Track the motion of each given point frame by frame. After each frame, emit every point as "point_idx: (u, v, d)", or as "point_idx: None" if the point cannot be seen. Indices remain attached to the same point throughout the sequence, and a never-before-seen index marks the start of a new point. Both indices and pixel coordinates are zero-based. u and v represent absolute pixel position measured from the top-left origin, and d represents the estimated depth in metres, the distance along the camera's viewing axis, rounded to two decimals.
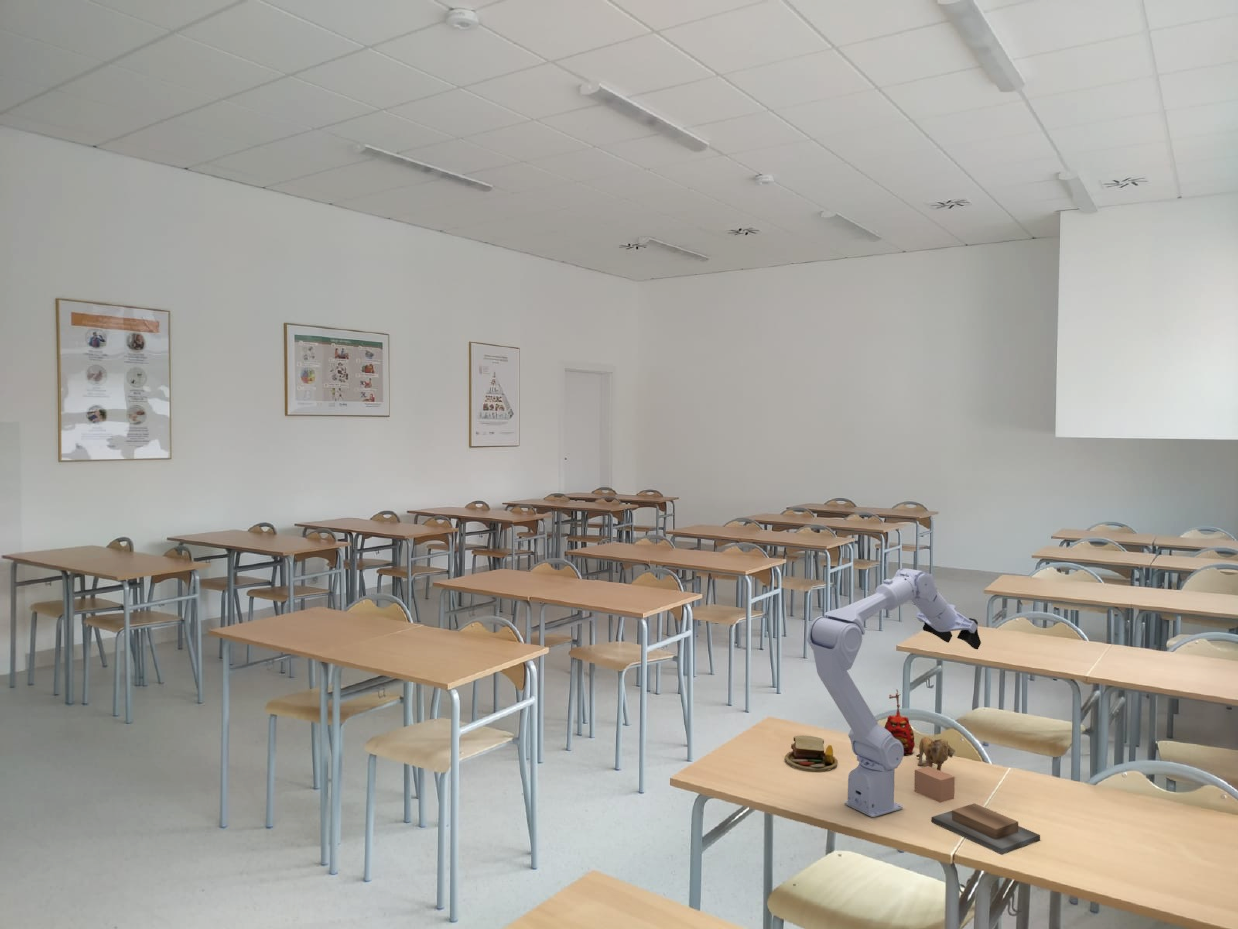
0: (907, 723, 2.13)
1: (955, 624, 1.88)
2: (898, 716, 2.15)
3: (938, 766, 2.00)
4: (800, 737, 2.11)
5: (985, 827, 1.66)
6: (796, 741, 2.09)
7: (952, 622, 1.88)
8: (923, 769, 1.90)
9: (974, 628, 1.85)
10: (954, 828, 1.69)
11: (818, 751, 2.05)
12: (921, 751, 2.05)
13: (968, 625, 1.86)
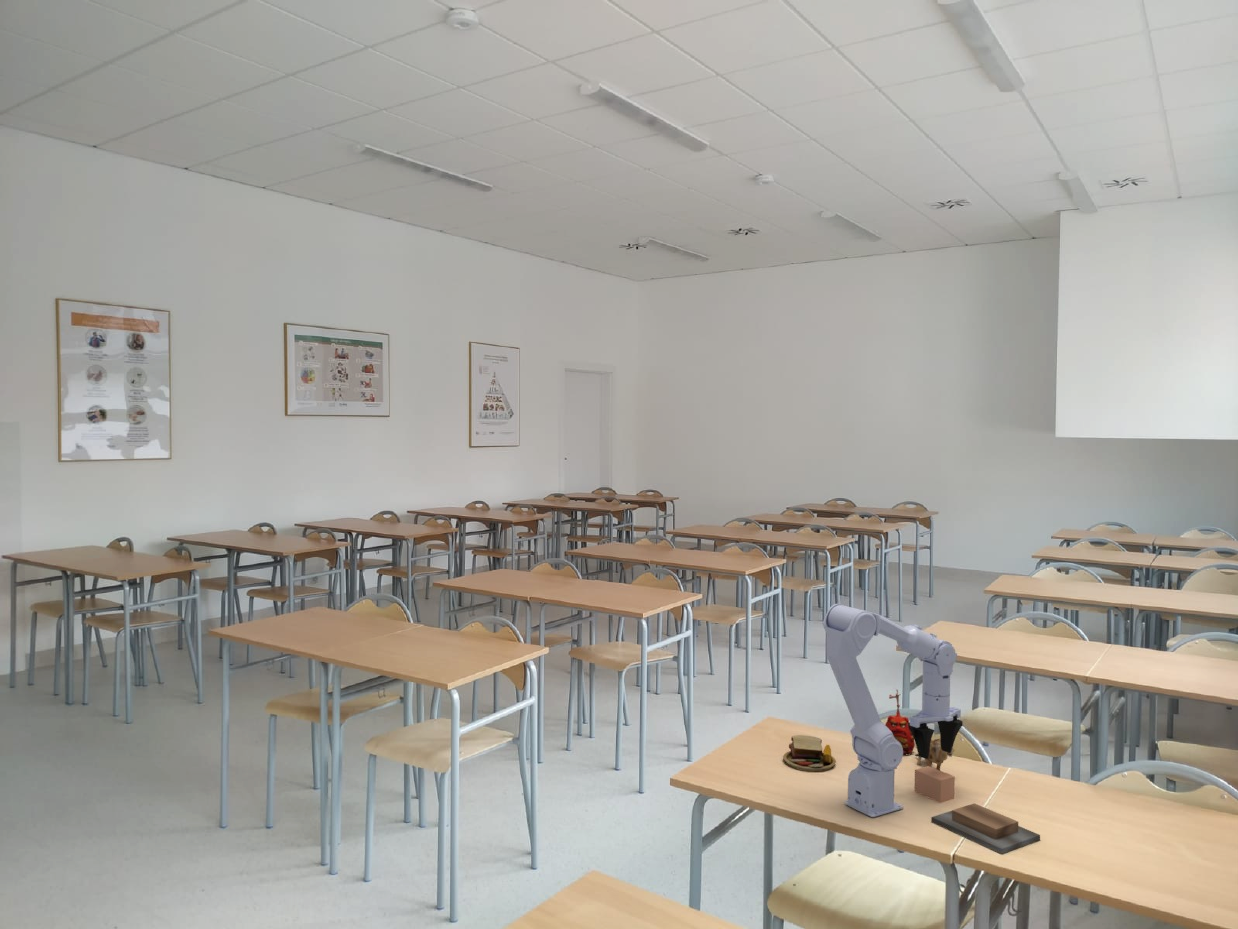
0: (907, 723, 2.13)
1: None
2: (898, 716, 2.15)
3: (937, 765, 2.00)
4: (797, 737, 2.11)
5: (985, 827, 1.66)
6: (794, 741, 2.09)
7: (924, 712, 1.86)
8: (923, 769, 1.90)
9: (912, 723, 1.84)
10: (954, 828, 1.69)
11: (816, 751, 2.05)
12: None
13: None
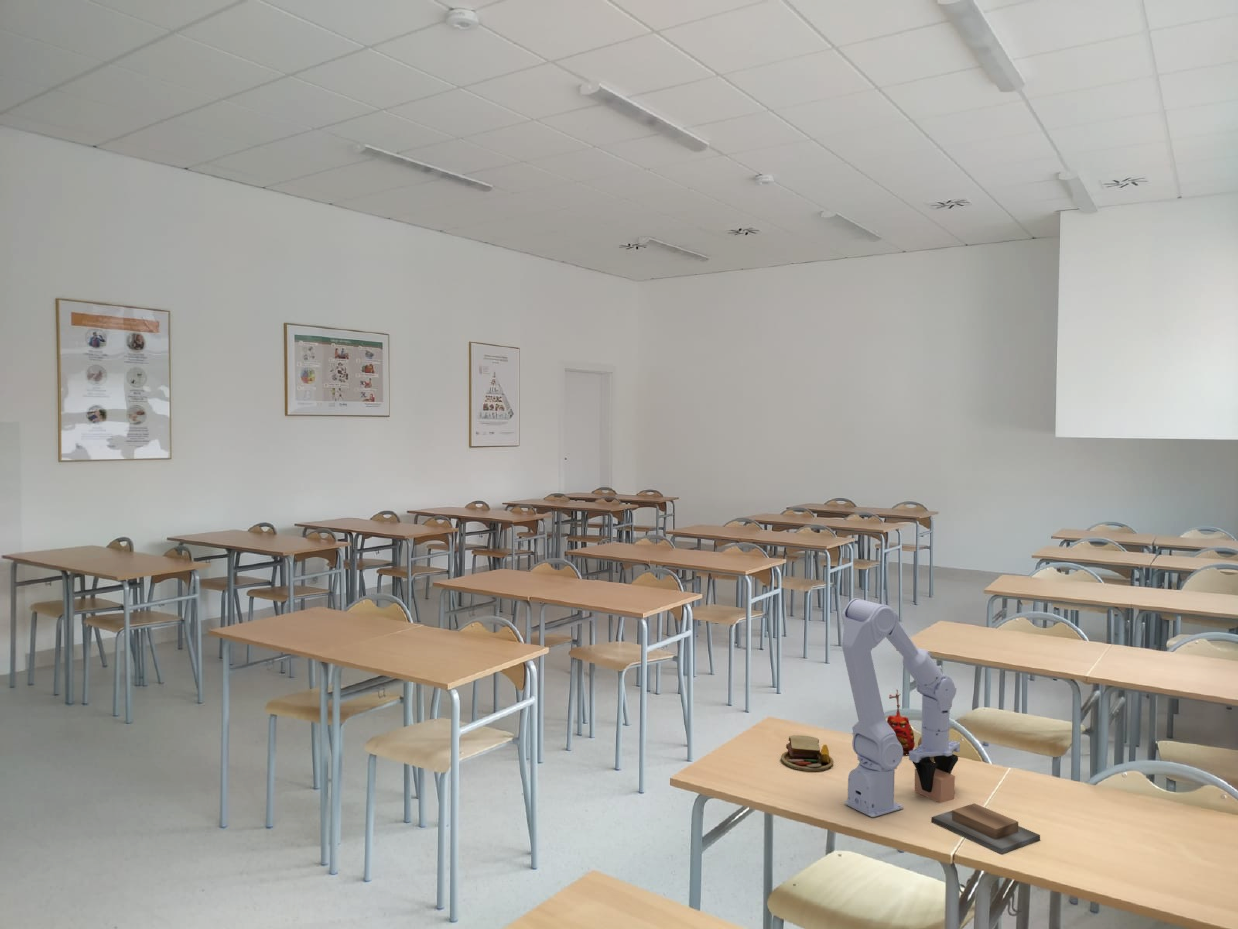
0: (907, 723, 2.13)
1: (923, 750, 1.86)
2: (898, 716, 2.15)
3: None
4: (795, 737, 2.11)
5: (985, 827, 1.66)
6: (792, 741, 2.09)
7: (924, 746, 1.86)
8: None
9: (912, 758, 1.84)
10: (954, 828, 1.69)
11: (814, 751, 2.05)
12: None
13: None
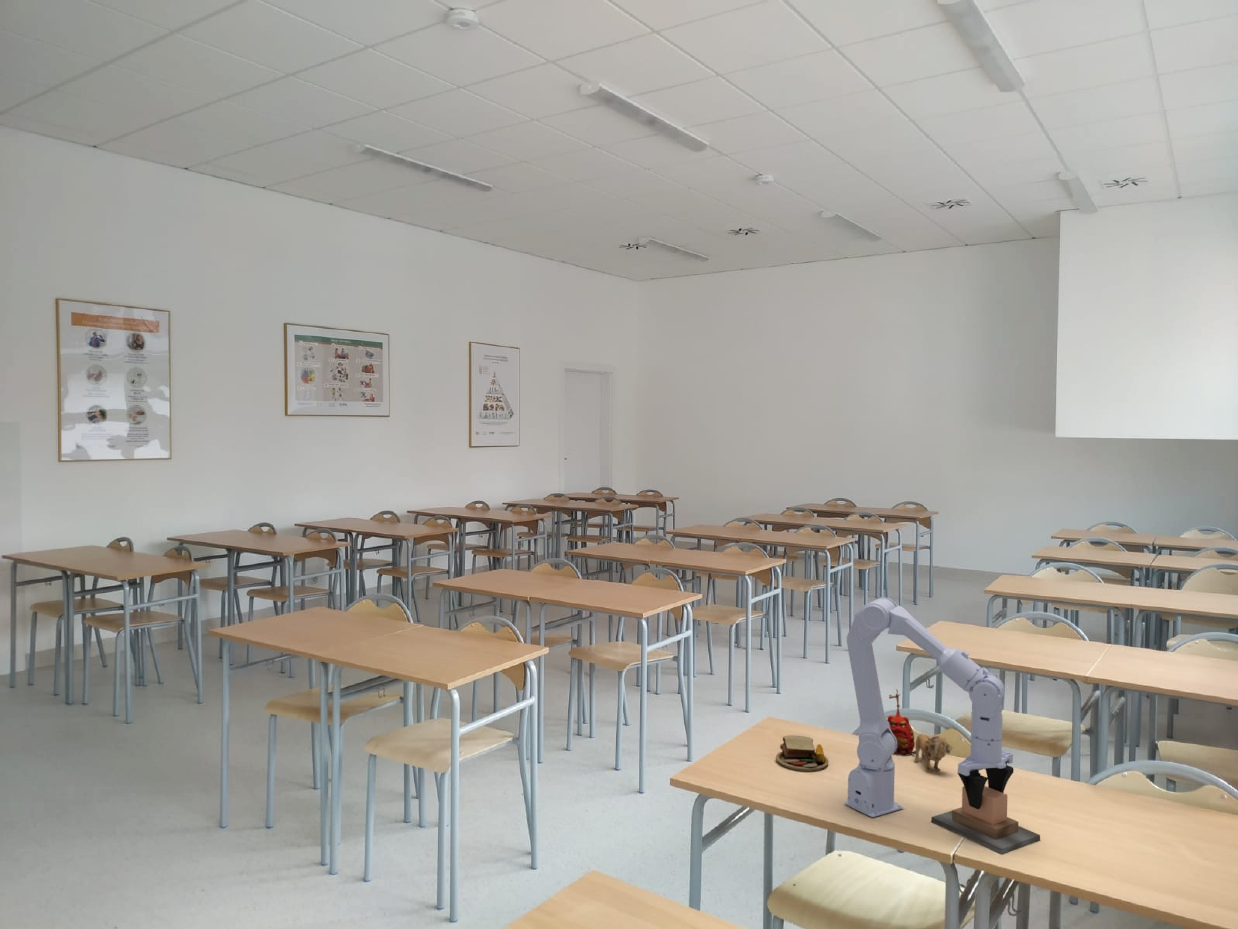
0: (907, 723, 2.13)
1: (973, 762, 1.69)
2: (898, 716, 2.15)
3: (935, 763, 2.02)
4: (789, 737, 2.11)
5: (985, 827, 1.66)
6: (786, 741, 2.09)
7: (974, 758, 1.69)
8: None
9: (961, 771, 1.66)
10: (954, 828, 1.69)
11: (809, 751, 2.06)
12: (918, 748, 2.07)
13: None
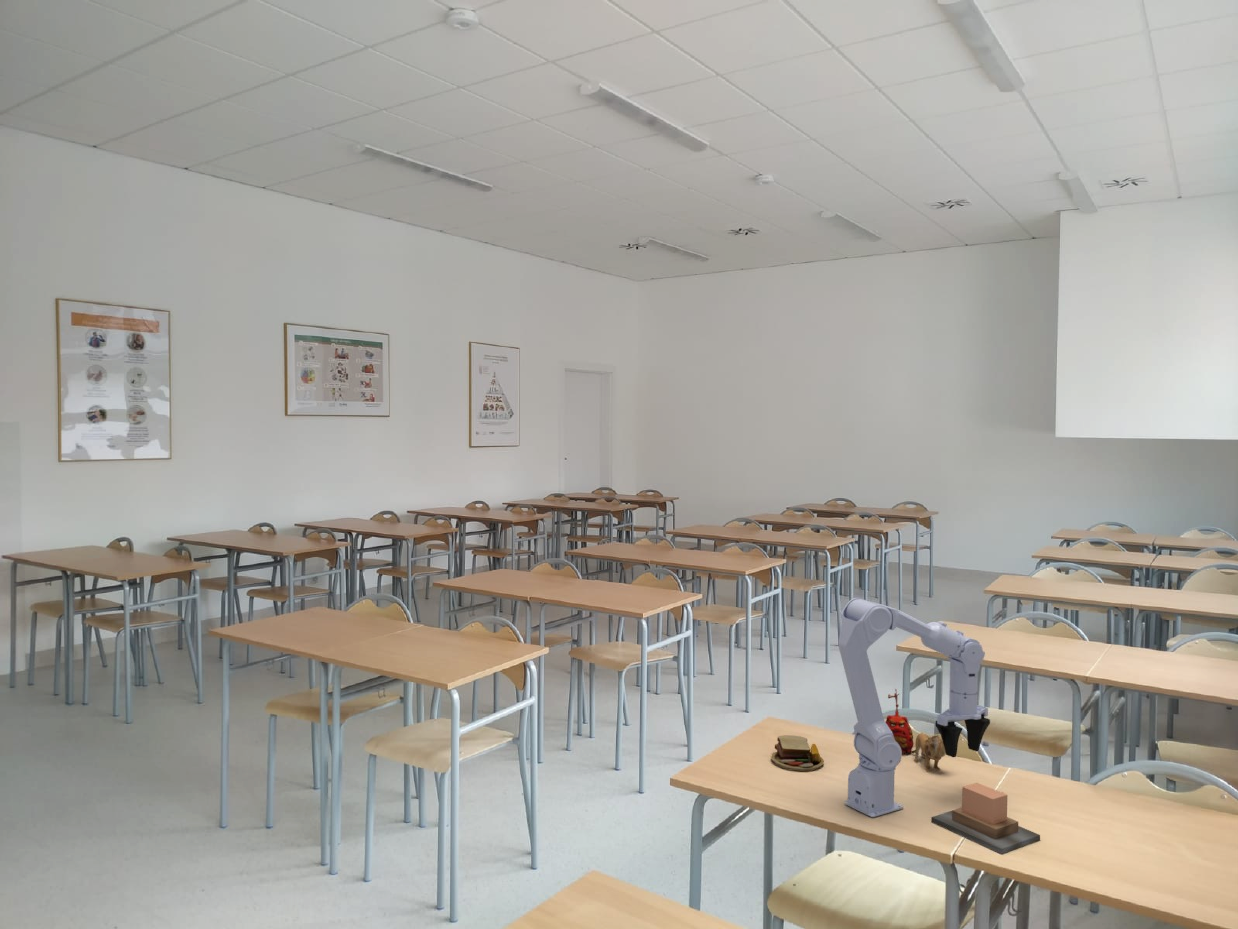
0: (906, 723, 2.14)
1: (951, 714, 1.85)
2: (897, 716, 2.15)
3: (935, 762, 2.03)
4: (783, 737, 2.11)
5: (985, 827, 1.66)
6: (781, 741, 2.09)
7: (952, 710, 1.85)
8: (971, 786, 1.72)
9: (940, 721, 1.82)
10: (954, 828, 1.69)
11: (804, 750, 2.06)
12: (917, 747, 2.08)
13: None
